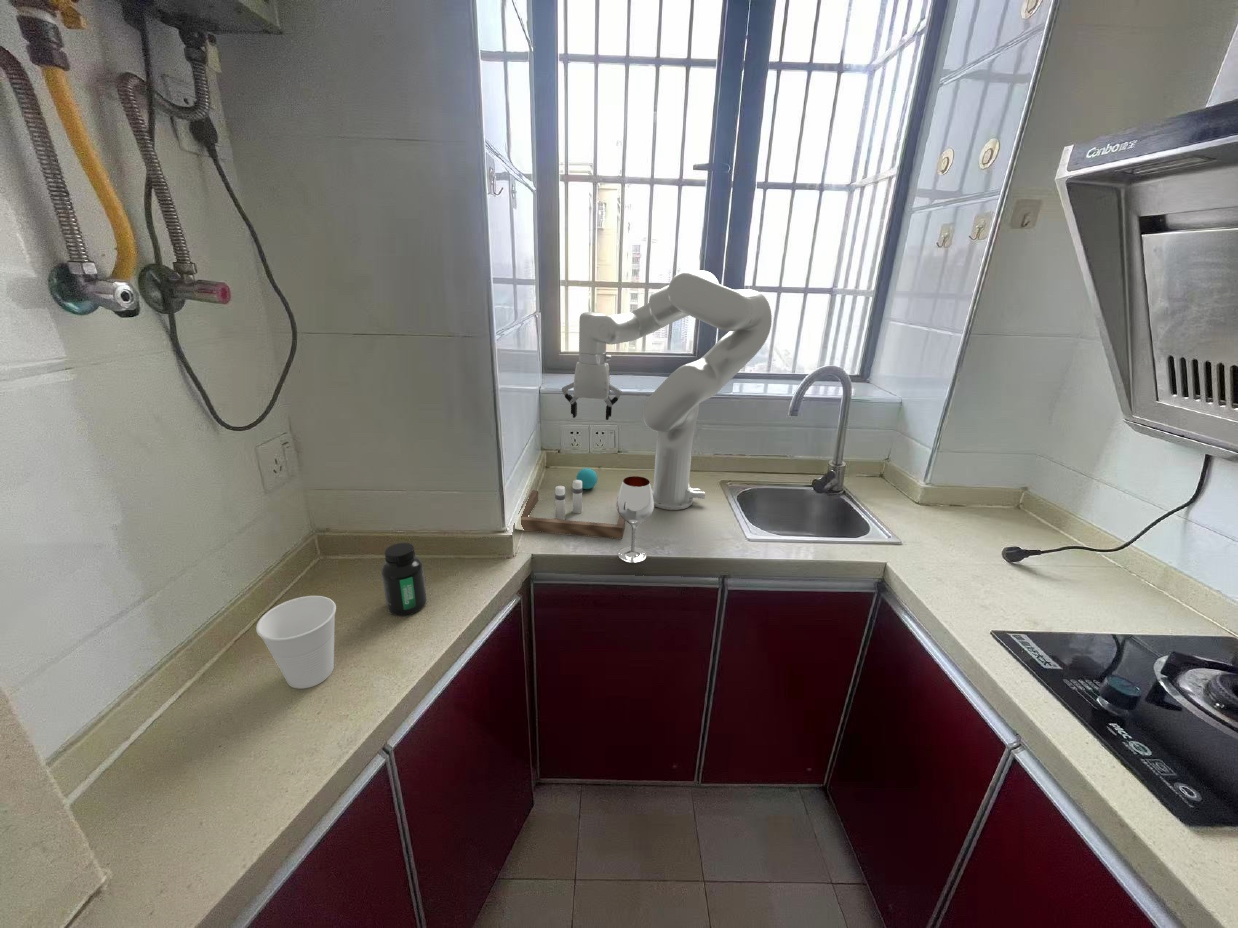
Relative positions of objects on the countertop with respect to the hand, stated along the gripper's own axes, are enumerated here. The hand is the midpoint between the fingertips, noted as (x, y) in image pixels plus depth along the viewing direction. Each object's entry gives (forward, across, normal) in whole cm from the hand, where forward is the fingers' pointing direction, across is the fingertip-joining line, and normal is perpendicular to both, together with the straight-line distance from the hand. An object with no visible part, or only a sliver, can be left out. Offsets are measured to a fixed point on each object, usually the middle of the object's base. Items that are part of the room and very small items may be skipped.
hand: (591, 417), depth 146 cm
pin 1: (+18, +3, +28) cm, 34 cm away
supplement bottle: (+19, +24, +66) cm, 73 cm away
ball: (+16, 0, +9) cm, 18 cm away
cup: (+19, +31, +84) cm, 92 cm away
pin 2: (+18, 0, +24) cm, 30 cm away
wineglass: (+19, -16, +43) cm, 49 cm away
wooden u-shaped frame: (+18, 0, +27) cm, 33 cm away
